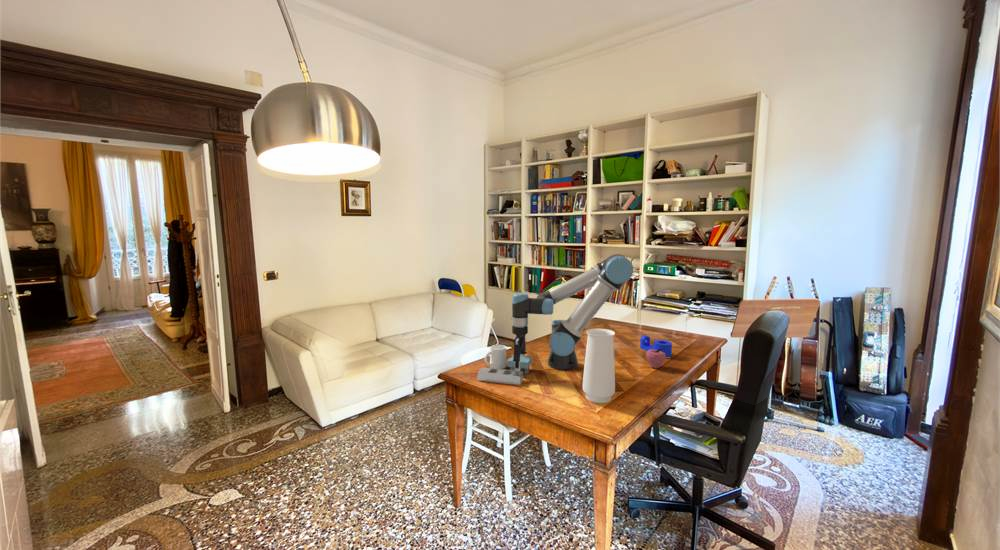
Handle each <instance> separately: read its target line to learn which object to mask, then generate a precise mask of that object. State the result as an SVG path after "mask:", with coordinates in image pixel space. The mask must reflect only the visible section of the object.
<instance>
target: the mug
mask: <svg viewBox="0 0 1000 550" xmlns="http://www.w3.org/2000/svg"><path fill="white" fill-rule="evenodd" d="M488 357H489V361H488ZM484 363H485V365H486V366H489V368H495V369H504V370H505V369H506V368H507V346H506V345H503V344H493V345H491V346H490V347H489V351H488V352H486V353H485V355H484Z"/></svg>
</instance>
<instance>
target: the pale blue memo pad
mask: <svg viewBox="0 0 1000 550" xmlns="http://www.w3.org/2000/svg"><path fill="white" fill-rule="evenodd" d="M513 357H514V354H511V356H509V358H508V359H507V360H506V368H508V367H509V370H514V361H513ZM532 362H533V356H531V355H530V356H529V355H525V356H521V355H520V369H524V371H523V374H529V371H530V366H531V364H532Z"/></svg>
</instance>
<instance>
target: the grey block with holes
mask: <svg viewBox="0 0 1000 550" xmlns="http://www.w3.org/2000/svg"><path fill="white" fill-rule="evenodd" d="M477 381H479V382H480V381H481V382H490V383H496V384H497V383H498V384H505V385H513V386H521V385H522V383H523V381H524V371H522V370H520V371H514V370H510V369H505V368H504V369H495V368H491V367H483V366H482V367H481V368H480V369H479V370H478V371H477Z"/></svg>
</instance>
